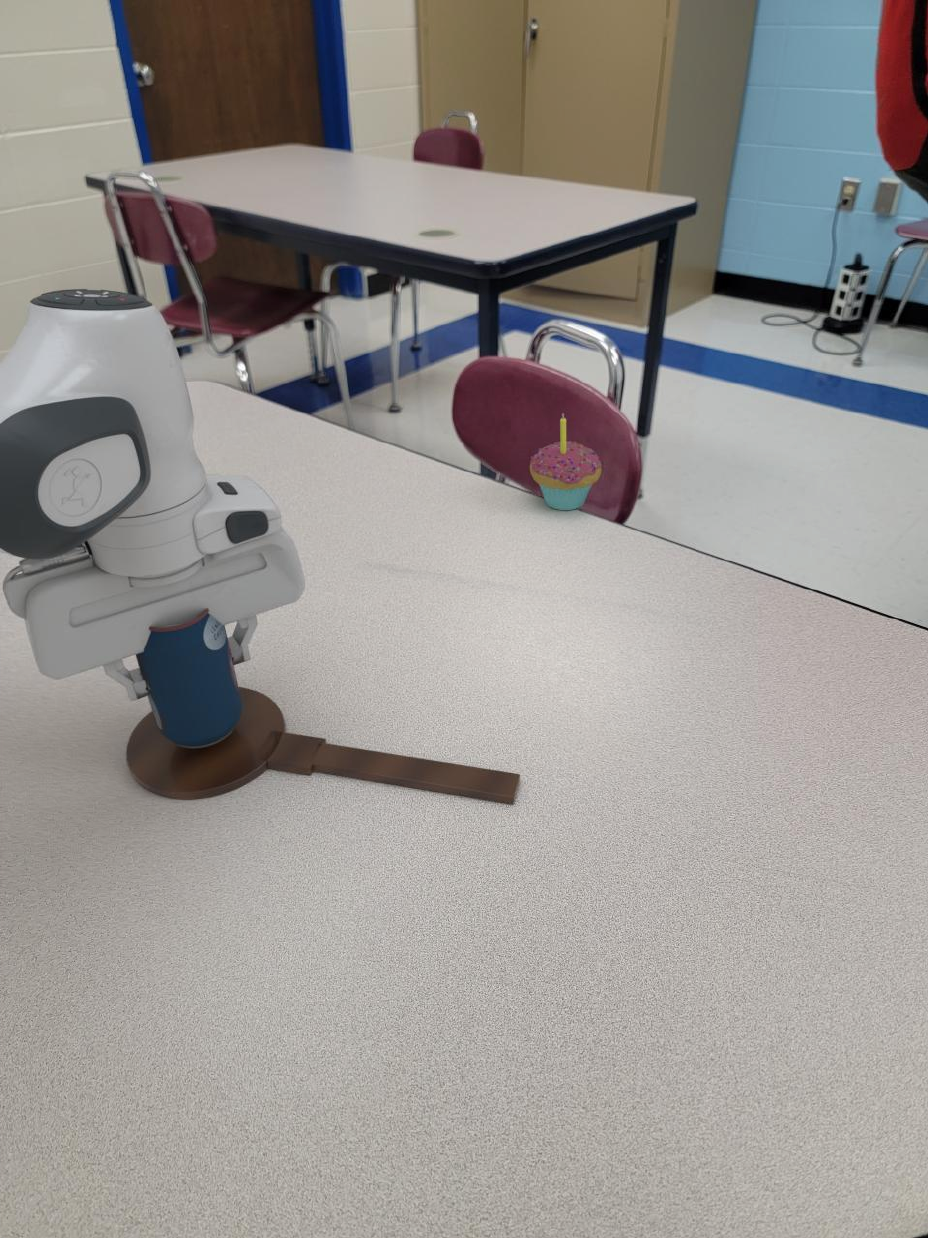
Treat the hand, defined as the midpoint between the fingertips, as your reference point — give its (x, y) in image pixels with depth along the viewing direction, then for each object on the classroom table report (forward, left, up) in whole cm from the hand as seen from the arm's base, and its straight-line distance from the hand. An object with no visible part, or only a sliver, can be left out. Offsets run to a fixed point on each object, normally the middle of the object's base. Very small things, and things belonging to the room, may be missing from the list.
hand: (190, 676), depth 72 cm
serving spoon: (+7, -7, -7) cm, 12 cm away
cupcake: (+50, +18, -7) cm, 54 cm away
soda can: (0, 0, -5) cm, 5 cm away
